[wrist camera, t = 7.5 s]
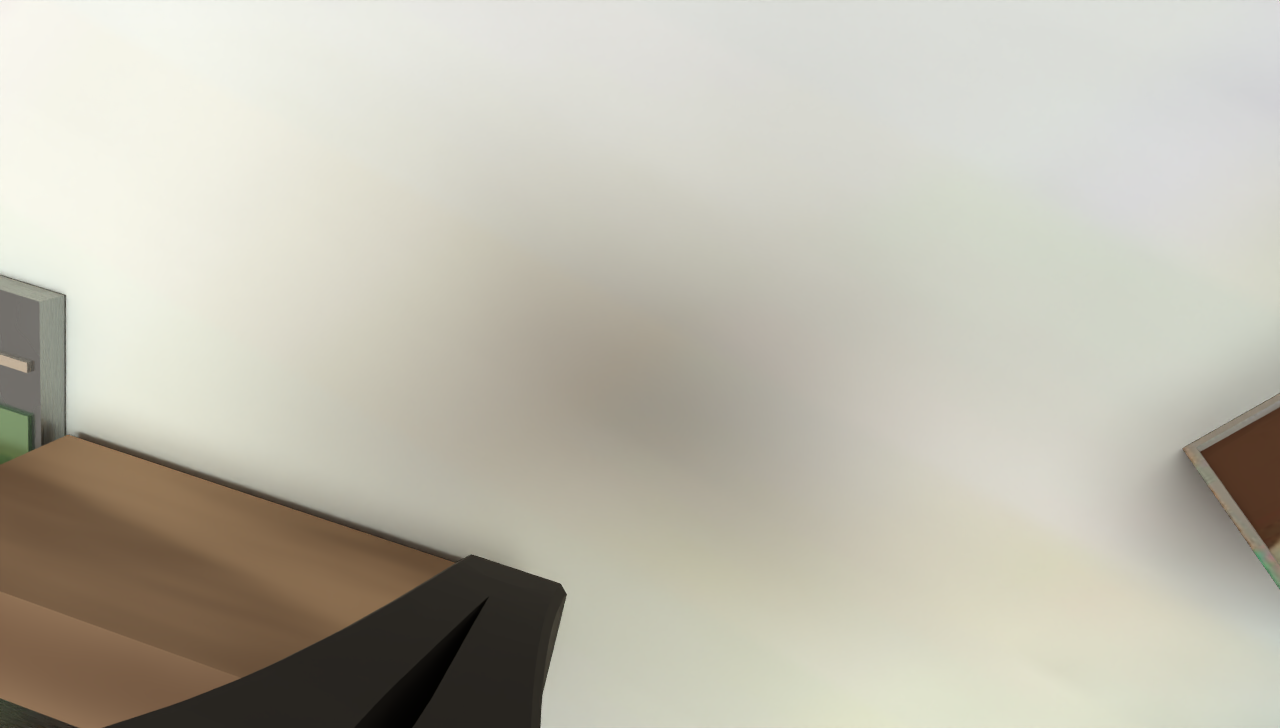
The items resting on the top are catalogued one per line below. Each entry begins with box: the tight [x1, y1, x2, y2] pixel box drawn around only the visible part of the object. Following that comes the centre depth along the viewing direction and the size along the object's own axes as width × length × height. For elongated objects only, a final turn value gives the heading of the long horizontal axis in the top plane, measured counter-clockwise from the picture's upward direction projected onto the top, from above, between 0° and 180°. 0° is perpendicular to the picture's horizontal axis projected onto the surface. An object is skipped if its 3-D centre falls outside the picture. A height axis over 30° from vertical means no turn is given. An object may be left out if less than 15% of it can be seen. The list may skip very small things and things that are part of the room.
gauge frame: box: [0, 275, 78, 728], centre depth 22 cm, size 12×19×5 cm, turn 77°
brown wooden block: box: [0, 435, 455, 728], centre depth 21 cm, size 3×18×6 cm, turn 77°
